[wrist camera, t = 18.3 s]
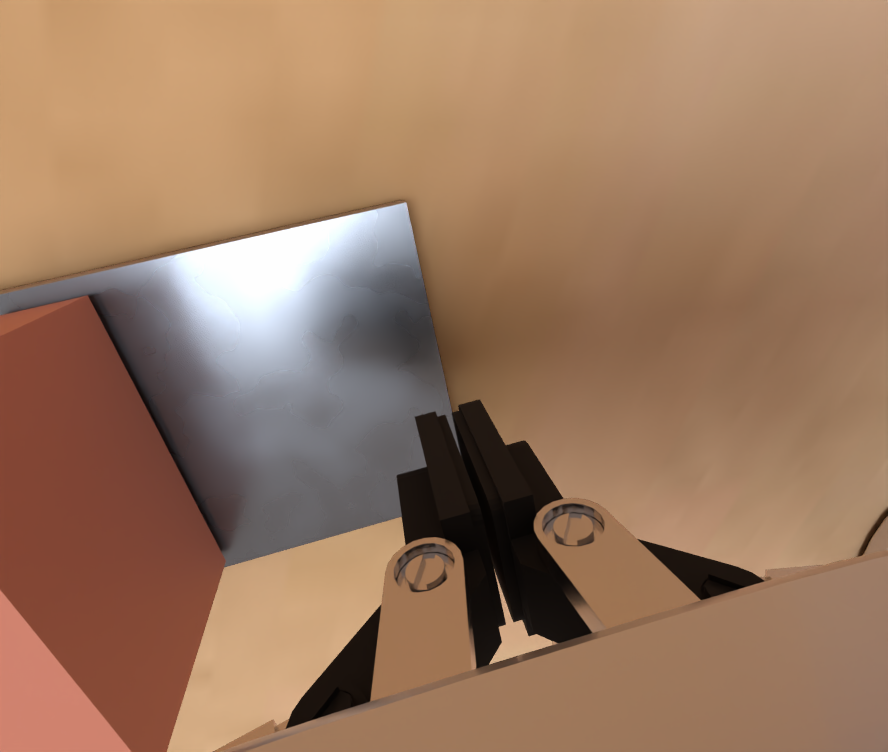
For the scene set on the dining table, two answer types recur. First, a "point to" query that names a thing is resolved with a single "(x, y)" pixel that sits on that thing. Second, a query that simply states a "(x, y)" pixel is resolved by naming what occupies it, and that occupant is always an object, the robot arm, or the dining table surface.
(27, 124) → the dining table surface
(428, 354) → the metal base plate
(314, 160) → the dining table surface
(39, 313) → the block
